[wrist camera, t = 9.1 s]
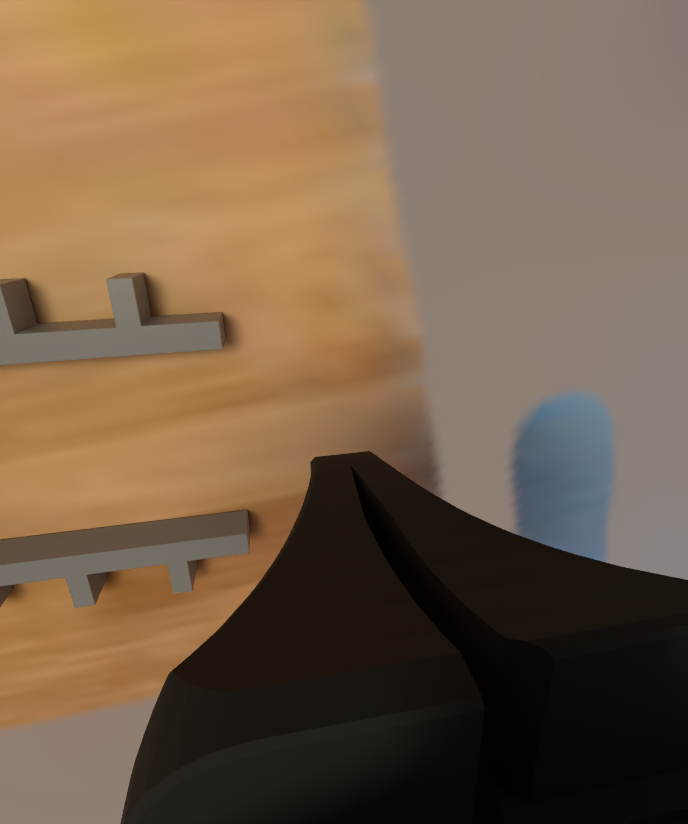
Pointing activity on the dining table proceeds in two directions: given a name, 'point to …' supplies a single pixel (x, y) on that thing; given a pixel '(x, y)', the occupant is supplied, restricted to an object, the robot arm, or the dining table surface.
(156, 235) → the dining table surface
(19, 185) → the dining table surface
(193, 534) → the grey u-shaped block
